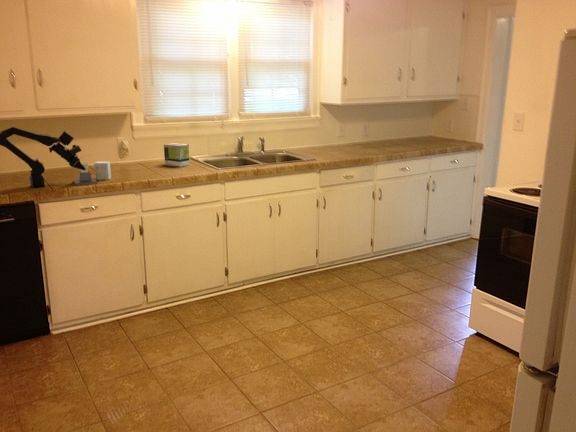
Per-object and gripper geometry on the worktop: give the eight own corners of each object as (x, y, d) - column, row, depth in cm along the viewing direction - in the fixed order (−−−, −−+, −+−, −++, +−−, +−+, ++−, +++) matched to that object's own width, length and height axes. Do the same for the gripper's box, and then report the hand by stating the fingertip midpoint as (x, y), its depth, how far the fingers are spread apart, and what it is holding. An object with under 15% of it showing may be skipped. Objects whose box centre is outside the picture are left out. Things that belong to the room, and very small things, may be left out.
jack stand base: (75, 185, 314) (74, 175, 312) (73, 181, 324) (72, 171, 323) (97, 183, 319) (96, 173, 317) (94, 179, 330) (93, 169, 328)
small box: (111, 177, 335) (110, 161, 332) (108, 179, 330) (107, 163, 327) (98, 177, 335) (97, 161, 332) (95, 179, 329) (94, 163, 326)
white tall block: (81, 181, 319) (80, 164, 316) (81, 179, 322) (79, 163, 320) (89, 180, 320) (87, 163, 318) (88, 179, 324) (86, 162, 321)
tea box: (190, 165, 378) (189, 144, 374) (180, 167, 370) (179, 146, 366) (174, 162, 386) (173, 142, 382) (164, 165, 378) (163, 144, 374)
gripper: (73, 143, 305) (95, 160, 312) (70, 139, 321) (91, 155, 328) (60, 158, 303) (82, 175, 311) (57, 153, 320) (79, 169, 327)
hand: (84, 168), depth 320 cm, fingers open, 9 cm apart
